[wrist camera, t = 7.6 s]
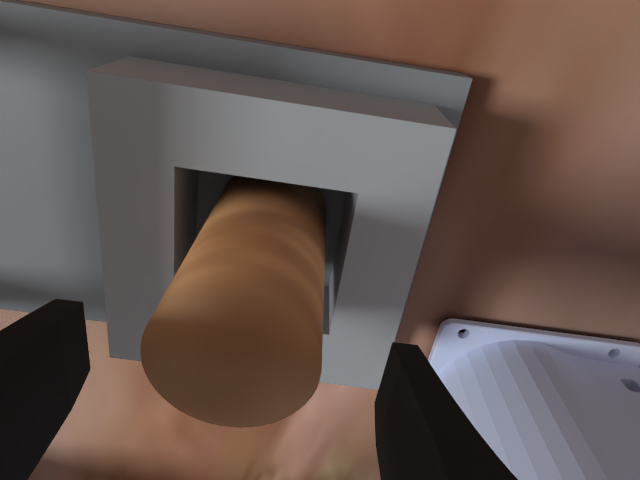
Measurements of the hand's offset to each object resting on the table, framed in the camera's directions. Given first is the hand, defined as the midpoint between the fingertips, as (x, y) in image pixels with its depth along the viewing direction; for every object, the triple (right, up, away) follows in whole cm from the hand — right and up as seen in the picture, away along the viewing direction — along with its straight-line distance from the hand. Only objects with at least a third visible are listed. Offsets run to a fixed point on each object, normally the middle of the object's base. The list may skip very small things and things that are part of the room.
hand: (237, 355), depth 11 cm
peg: (0, +4, +6) cm, 7 cm away
